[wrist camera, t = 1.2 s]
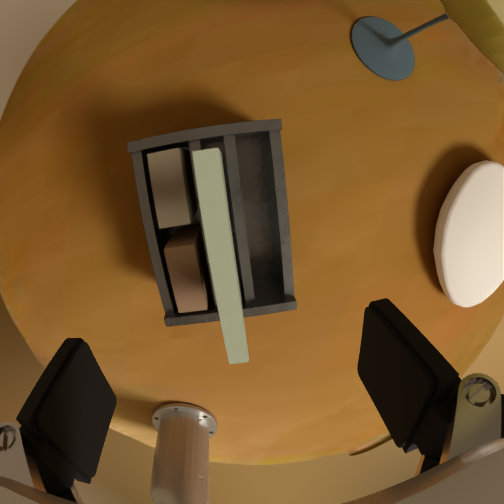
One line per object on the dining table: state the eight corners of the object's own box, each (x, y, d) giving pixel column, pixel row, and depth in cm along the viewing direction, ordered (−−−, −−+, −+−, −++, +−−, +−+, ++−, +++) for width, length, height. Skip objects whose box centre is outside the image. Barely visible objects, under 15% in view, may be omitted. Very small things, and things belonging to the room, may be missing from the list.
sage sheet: (237, 267, 36) (249, 361, 19) (226, 268, 36) (229, 364, 19) (221, 154, 31) (218, 147, 14) (209, 155, 31) (192, 151, 14)
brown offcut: (198, 208, 33) (190, 223, 25) (173, 212, 33) (159, 228, 25) (189, 150, 31) (179, 147, 23) (165, 154, 30) (147, 154, 23)
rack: (281, 275, 38) (296, 309, 29) (177, 289, 37) (166, 326, 29) (266, 128, 32) (280, 118, 23) (151, 146, 31) (126, 142, 22)
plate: (535, 221, 35) (480, 327, 42) (514, 212, 41) (461, 312, 48) (499, 129, 26) (427, 280, 32) (469, 125, 32) (400, 261, 38)
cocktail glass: (326, 88, 30) (471, 16, 7) (324, -14, 25) (406, -114, 1) (433, 117, 32) (572, 119, 9) (425, 22, 26) (532, -19, 3)
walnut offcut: (210, 278, 36) (207, 309, 28) (187, 281, 36) (179, 313, 28) (200, 224, 34) (194, 244, 26) (176, 228, 33) (163, 249, 26)
